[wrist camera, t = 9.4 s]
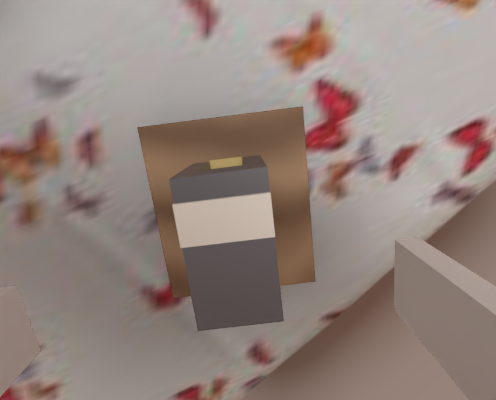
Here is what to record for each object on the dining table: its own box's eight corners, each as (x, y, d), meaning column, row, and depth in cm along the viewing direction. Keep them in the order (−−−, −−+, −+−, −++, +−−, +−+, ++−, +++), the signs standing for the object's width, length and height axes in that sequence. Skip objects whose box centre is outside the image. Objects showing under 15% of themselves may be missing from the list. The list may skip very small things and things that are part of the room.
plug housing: (193, 163, 21) (167, 179, 14) (260, 155, 21) (267, 167, 14) (211, 272, 23) (197, 333, 16) (272, 265, 23) (284, 323, 16)
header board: (144, 127, 22) (108, 126, 16) (298, 108, 22) (318, 99, 16) (177, 288, 25) (156, 335, 19) (311, 272, 25) (331, 316, 19)
